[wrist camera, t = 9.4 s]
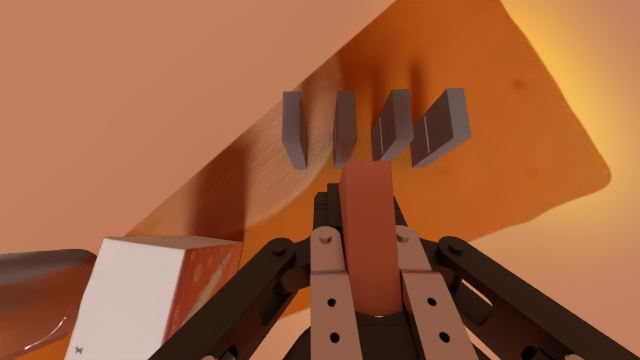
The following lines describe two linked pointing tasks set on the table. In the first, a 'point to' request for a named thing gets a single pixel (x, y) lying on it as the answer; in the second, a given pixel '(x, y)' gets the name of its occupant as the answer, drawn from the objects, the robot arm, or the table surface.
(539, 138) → the table surface
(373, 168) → the domino
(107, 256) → the small box
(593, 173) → the table surface
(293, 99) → the domino
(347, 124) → the domino
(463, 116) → the domino
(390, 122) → the domino
